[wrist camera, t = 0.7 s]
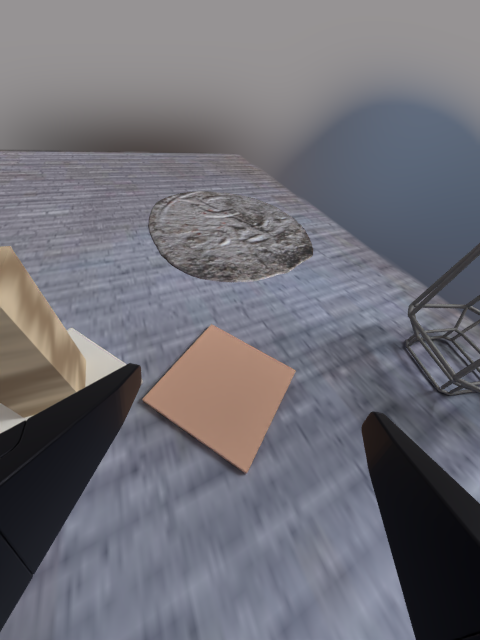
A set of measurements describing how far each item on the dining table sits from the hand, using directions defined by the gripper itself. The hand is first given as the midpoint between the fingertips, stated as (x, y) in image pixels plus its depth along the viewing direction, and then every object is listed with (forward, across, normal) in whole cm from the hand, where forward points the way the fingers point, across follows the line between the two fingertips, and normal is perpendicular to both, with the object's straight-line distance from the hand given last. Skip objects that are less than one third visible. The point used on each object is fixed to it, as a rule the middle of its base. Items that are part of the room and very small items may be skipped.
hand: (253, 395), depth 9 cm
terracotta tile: (+13, +1, +12) cm, 18 cm away
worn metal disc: (+46, +7, +2) cm, 47 cm away
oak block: (+8, +16, +12) cm, 22 cm away
